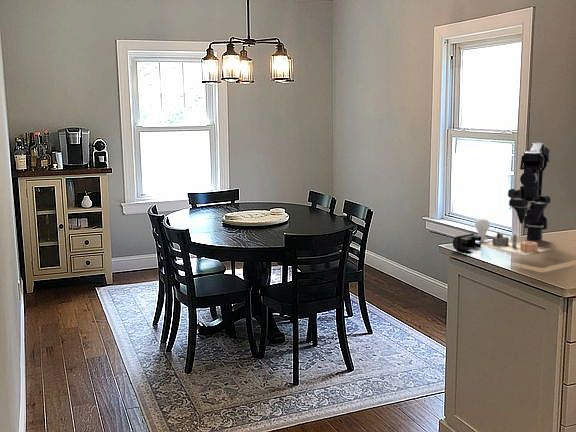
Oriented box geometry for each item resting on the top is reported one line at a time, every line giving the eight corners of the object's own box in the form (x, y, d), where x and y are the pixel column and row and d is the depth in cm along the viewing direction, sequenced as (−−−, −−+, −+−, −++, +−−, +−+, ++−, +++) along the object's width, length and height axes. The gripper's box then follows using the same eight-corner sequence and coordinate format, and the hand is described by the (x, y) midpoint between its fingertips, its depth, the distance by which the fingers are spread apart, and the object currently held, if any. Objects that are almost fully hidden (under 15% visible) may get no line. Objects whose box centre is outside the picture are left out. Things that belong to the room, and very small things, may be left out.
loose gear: (527, 247, 264) (527, 240, 263) (540, 250, 258) (541, 243, 258) (516, 249, 260) (517, 242, 260) (530, 252, 255) (531, 245, 254)
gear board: (502, 242, 280) (503, 227, 279) (551, 252, 260) (552, 236, 259) (476, 247, 271) (476, 232, 270) (524, 258, 251) (525, 241, 250)
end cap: (467, 247, 272) (468, 232, 271) (481, 250, 266) (482, 234, 265) (451, 251, 266) (452, 235, 265) (465, 254, 260) (466, 238, 259)
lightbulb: (473, 243, 280) (474, 218, 278) (474, 240, 285) (475, 216, 284) (488, 244, 278) (489, 219, 276) (489, 241, 283) (490, 216, 281)
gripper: (528, 179, 266) (526, 216, 269) (498, 183, 256) (497, 221, 259) (552, 182, 257) (550, 220, 260) (522, 186, 247) (520, 226, 250)
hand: (528, 222), depth 257 cm, fingers open, 9 cm apart
